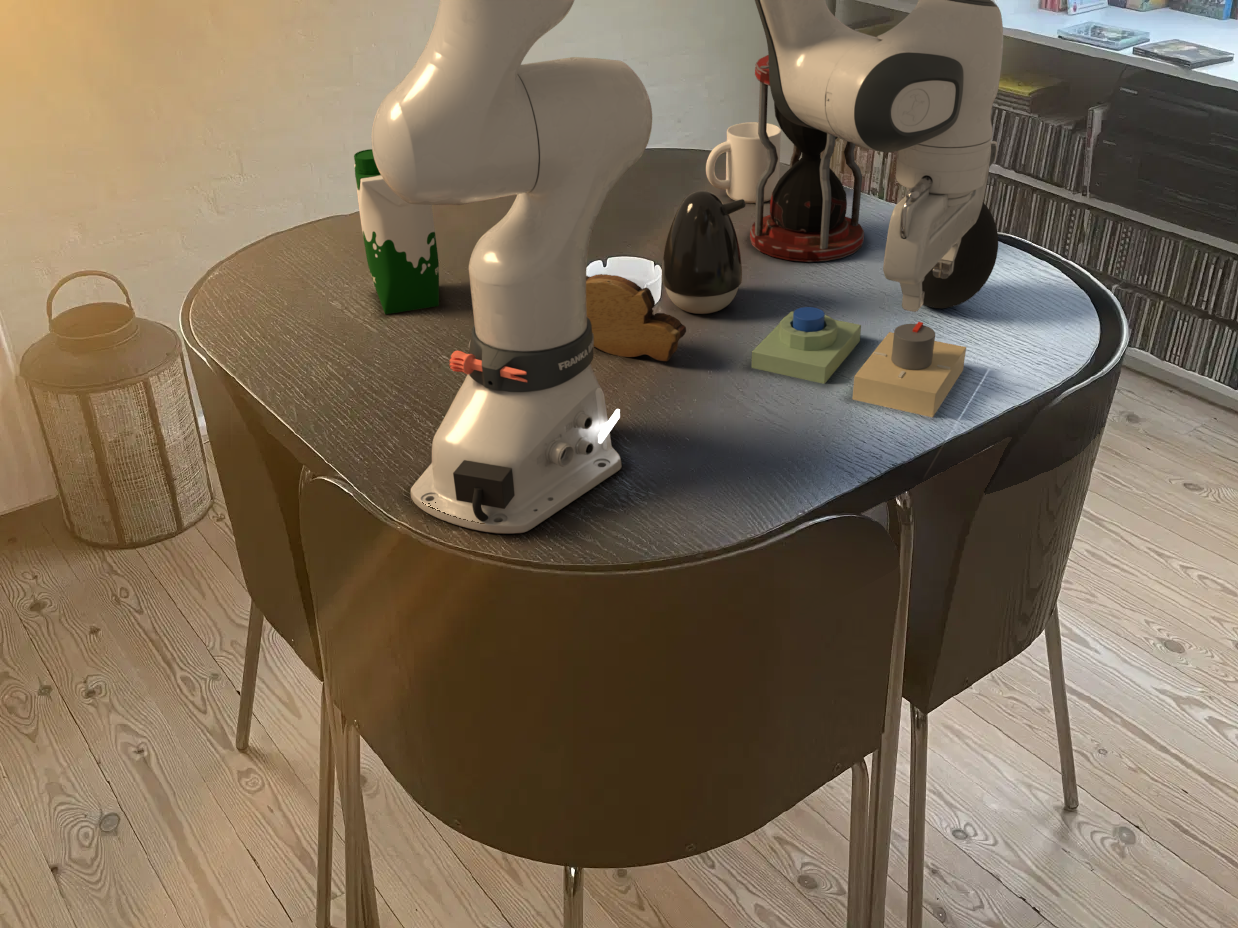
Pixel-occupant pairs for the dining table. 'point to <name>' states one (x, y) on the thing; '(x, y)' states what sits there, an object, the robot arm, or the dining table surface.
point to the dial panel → (909, 379)
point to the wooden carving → (629, 319)
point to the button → (808, 319)
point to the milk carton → (396, 242)
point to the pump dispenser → (702, 254)
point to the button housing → (806, 349)
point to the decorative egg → (966, 266)
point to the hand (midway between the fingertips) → (927, 291)
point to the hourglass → (804, 193)
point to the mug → (745, 162)
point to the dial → (913, 346)
